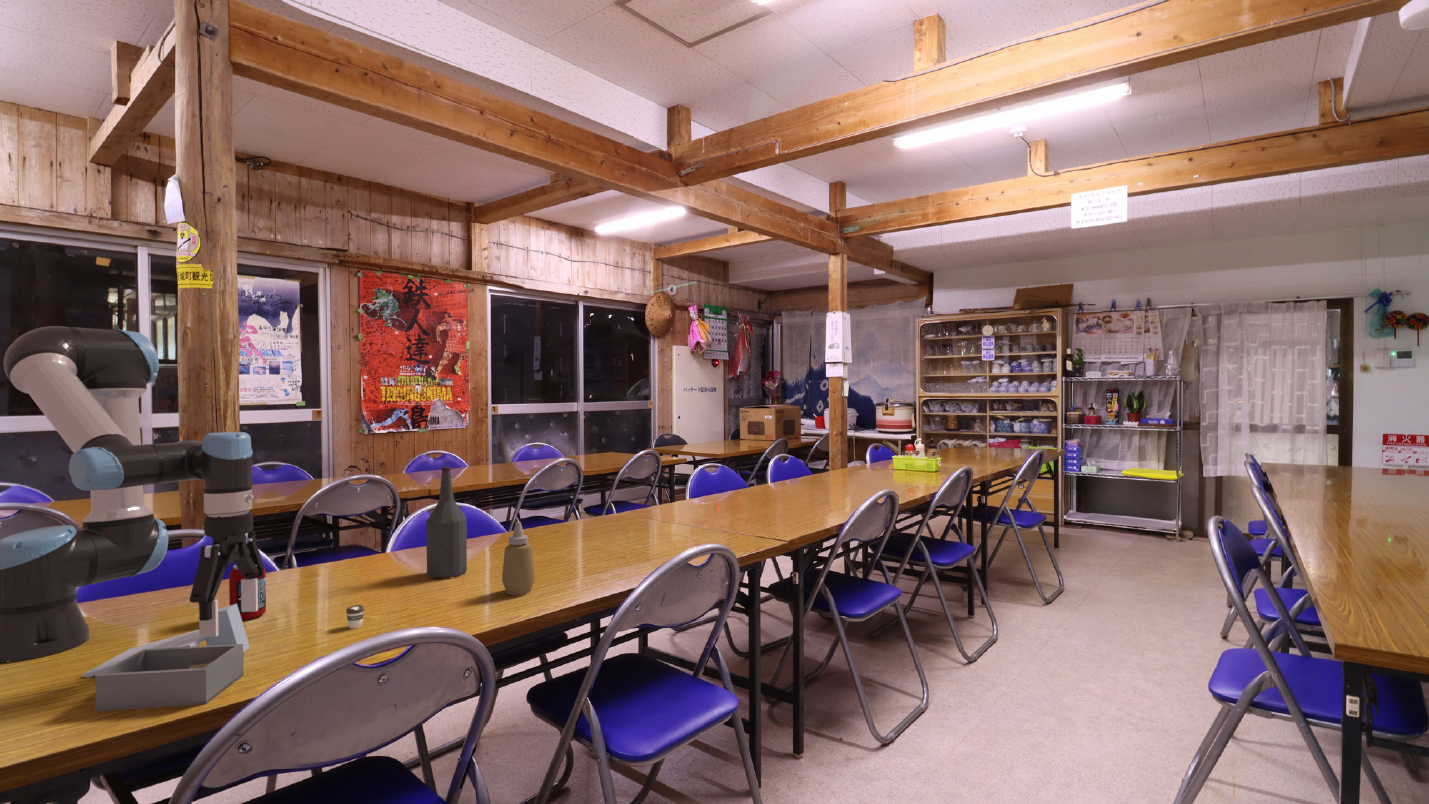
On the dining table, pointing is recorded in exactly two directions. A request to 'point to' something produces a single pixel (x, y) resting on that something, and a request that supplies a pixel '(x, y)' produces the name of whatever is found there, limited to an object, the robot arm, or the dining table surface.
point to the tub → (169, 677)
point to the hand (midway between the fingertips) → (230, 623)
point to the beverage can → (235, 593)
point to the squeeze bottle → (518, 564)
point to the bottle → (446, 534)
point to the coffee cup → (355, 616)
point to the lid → (191, 639)
